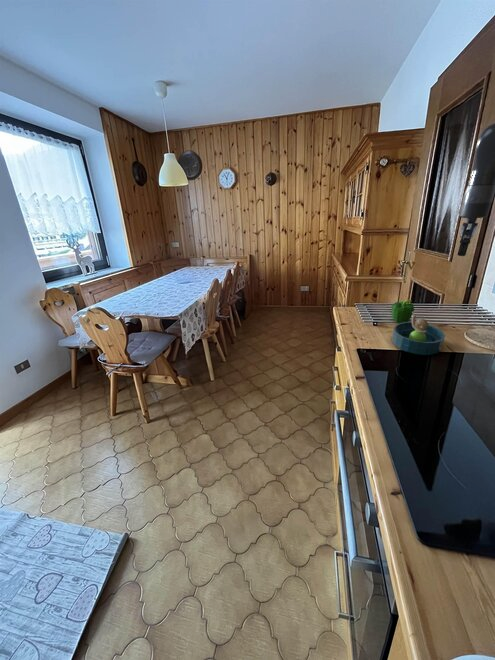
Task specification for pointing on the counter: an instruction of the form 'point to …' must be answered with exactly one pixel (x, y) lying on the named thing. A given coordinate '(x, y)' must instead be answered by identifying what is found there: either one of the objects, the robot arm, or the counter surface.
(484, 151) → the robot arm
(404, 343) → the bowl
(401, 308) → the bell pepper
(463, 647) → the counter surface
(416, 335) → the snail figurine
